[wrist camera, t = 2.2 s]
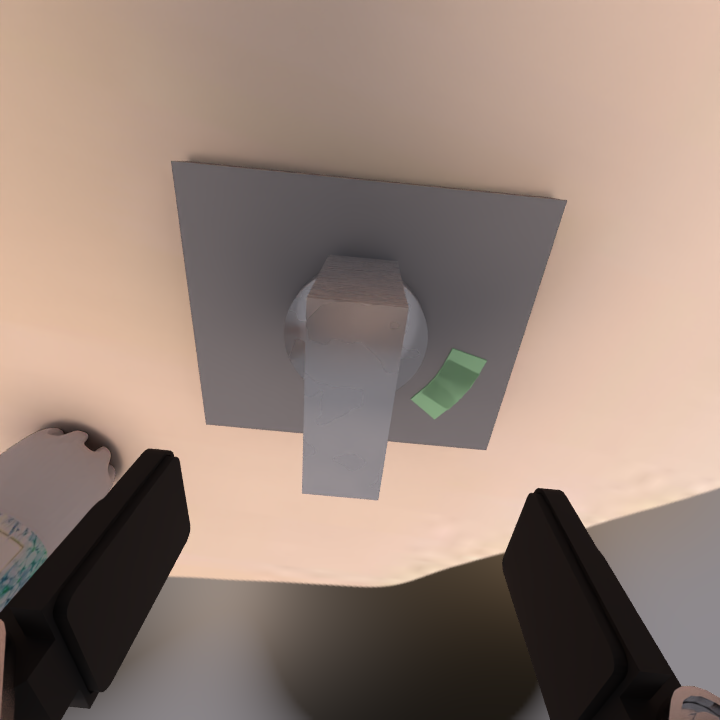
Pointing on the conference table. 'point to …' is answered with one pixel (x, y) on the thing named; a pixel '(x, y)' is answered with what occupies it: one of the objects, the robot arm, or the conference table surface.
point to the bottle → (45, 499)
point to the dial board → (363, 240)
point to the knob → (352, 369)
